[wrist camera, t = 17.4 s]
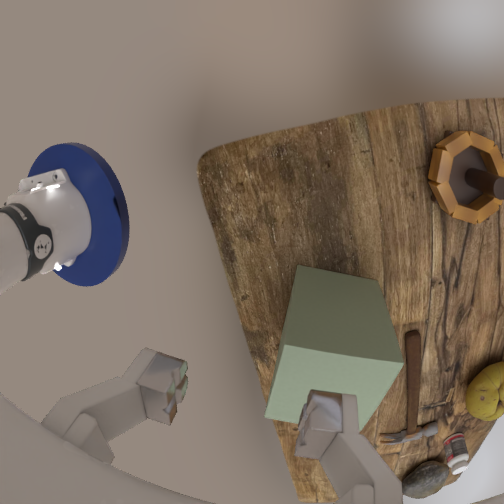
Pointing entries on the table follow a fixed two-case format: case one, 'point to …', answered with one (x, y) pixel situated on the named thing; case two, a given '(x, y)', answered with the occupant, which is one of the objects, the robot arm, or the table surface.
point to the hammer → (412, 395)
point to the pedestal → (334, 344)
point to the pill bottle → (456, 453)
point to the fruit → (487, 393)
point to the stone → (425, 480)
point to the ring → (442, 170)
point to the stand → (472, 177)
